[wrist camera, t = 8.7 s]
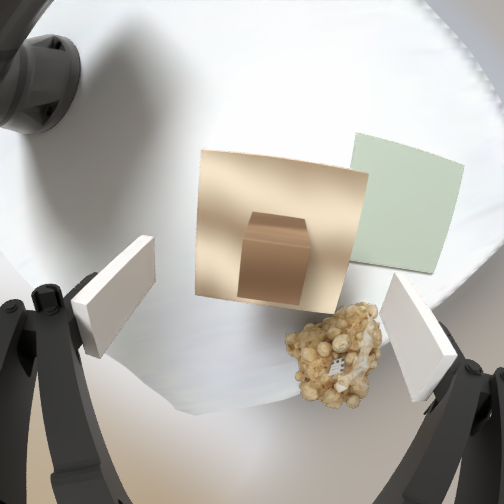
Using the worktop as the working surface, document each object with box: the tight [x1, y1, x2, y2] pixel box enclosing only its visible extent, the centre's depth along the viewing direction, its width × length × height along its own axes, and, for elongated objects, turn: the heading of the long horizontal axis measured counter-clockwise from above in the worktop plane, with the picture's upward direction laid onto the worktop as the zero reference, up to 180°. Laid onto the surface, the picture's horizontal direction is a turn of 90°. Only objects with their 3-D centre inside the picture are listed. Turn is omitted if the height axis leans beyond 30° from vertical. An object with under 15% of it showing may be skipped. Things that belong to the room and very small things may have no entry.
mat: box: [350, 133, 464, 273], centre depth 31 cm, size 15×15×1 cm
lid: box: [195, 149, 369, 314], centre depth 18 cm, size 11×11×6 cm
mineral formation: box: [285, 302, 382, 409], centre depth 32 cm, size 8×13×15 cm, turn 135°
